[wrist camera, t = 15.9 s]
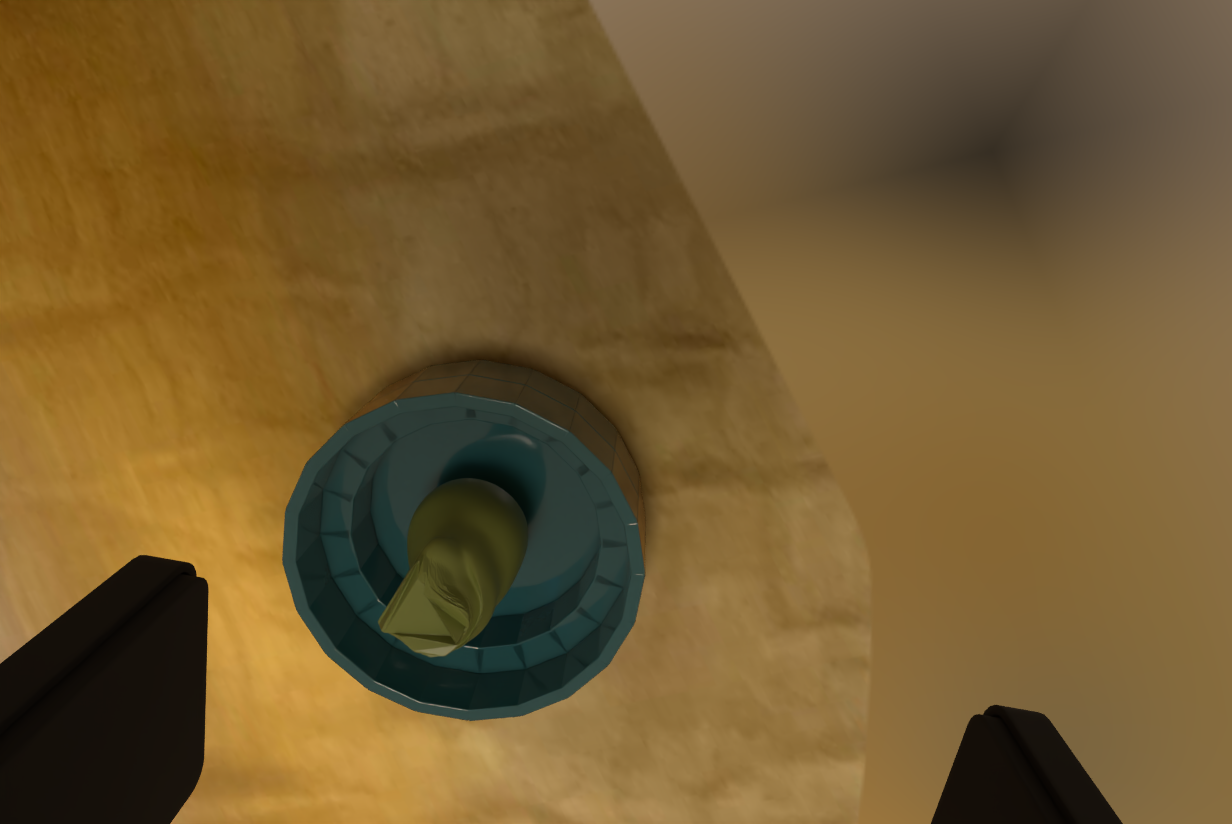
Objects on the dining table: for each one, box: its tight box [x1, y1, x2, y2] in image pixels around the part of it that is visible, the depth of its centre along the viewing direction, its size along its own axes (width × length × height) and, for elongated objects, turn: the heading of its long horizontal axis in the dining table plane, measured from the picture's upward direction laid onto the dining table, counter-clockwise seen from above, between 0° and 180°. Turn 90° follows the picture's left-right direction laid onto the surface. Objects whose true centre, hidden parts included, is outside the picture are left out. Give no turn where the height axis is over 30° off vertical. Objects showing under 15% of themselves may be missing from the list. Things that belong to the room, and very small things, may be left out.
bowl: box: [282, 360, 646, 721], centre depth 37 cm, size 15×15×6 cm
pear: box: [378, 478, 528, 657], centre depth 35 cm, size 6×5×10 cm
